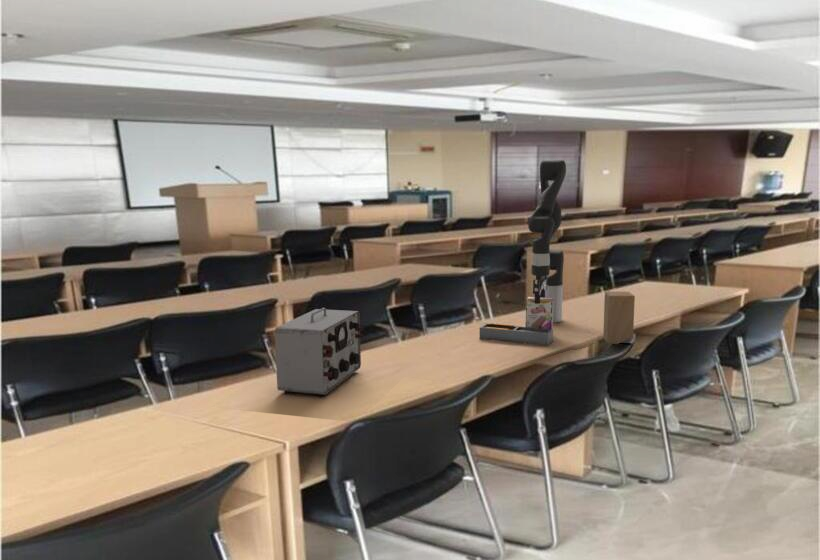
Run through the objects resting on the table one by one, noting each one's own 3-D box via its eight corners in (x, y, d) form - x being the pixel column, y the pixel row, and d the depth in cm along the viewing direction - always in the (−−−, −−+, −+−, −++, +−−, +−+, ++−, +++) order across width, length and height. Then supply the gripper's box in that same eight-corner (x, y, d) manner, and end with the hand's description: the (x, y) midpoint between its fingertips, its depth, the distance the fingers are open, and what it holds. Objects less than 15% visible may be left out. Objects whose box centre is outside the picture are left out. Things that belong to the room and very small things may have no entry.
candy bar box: (525, 336, 284) (525, 298, 281) (526, 333, 289) (527, 296, 286) (551, 338, 280) (552, 299, 278) (553, 335, 285) (553, 297, 282)
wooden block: (627, 338, 278) (629, 291, 275) (633, 344, 268) (635, 295, 265) (603, 338, 279) (604, 291, 276) (607, 344, 269) (609, 295, 266)
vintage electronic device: (330, 400, 207) (327, 322, 203) (277, 395, 212) (274, 318, 208) (366, 371, 237) (364, 302, 233) (319, 367, 242) (317, 300, 238)
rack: (486, 334, 288) (486, 322, 287) (552, 341, 275) (553, 328, 274) (479, 339, 280) (479, 326, 279) (547, 345, 268) (548, 333, 267)
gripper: (536, 261, 288) (535, 298, 290) (527, 265, 275) (526, 304, 277) (553, 262, 284) (552, 299, 287) (545, 266, 272) (544, 305, 274)
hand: (539, 301), depth 282 cm, fingers open, 8 cm apart
